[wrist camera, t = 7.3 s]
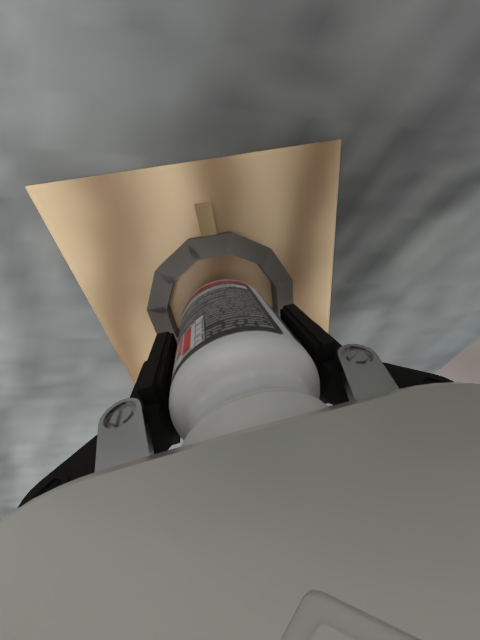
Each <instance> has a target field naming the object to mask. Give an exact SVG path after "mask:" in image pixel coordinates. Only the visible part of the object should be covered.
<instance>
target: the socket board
mask: <svg viewBox="0 0 480 640" xmlns="http://www.w3.org/2000/svg"><path fill="white" fill-rule="evenodd" d="M340 152H341V139H338V140H332V141H325V142H318V143H312V144H305V145H298V146H291V147H285V148H278V149H271V150H265V151H258V152H251V153H245V154H238V155H231V156H225V157H218V158H211V159H205V160H198V161H191V162H185V163H178V164H171V165H164V166H158V167H151V168H144V169H138V170H131V171H124V172H118V173H111V174H104V175H98V176H91V177H84V178H78V179H71V180H64V181H58V182H51V183H44V184H37V185H31V186H25V188H26V190H27V191H28V193H29V195H30V197H31V199H32V200H33V202H34V204H35V206H36V208H37V209H38V211H39V213H40V215H41V217H42V218H43V220H44V222H45V224H46V226H47V227H48V229H49V231H50V233H51V235H52V236H53V238H54V240H55V242H56V243H57V245H58V247H59V249H60V251H61V252H62V254H63V256H64V258H65V260H66V261H67V263H68V265H69V267H70V269H71V270H72V272H73V274H74V276H75V278H76V279H77V281H78V283H79V285H80V287H81V288H82V290H83V292H84V294H85V296H86V297H87V299H88V301H89V303H90V305H91V306H92V308H93V310H94V312H95V314H96V315H97V317H98V319H99V321H100V322H101V324H102V326H103V328H104V330H105V331H106V333H107V335H108V337H109V339H110V340H111V342H112V344H113V346H114V348H115V349H116V351H117V353H118V355H119V357H120V358H121V360H122V362H123V364H124V366H125V367H126V369H127V371H128V373H129V375H130V376H131V378H132V380H133V382H134V384H135V383H136V381H137V378H138V376H139V373H140V371H141V368H142V365H143V363H144V362H145V361H147V359H148V357H149V354H150V351H151V349H152V346H153V343H154V340H155V338H156V335H157V334H158V333H162V332H167V331H169V332H170V333H173V334H174V336H175V339H176V341H177V343H178V337H179V330H180V324H181V318H182V313H183V310H184V307H185V305H186V303H187V301H188V300H189V298H190V297H191V296H192V295H193V294H194V293H195V292H196V291H197V290H198V289H199V288H201V287H202V286H204V285H206V284H208V283H211V282H214V281H217V280H227V279H229V280H237V281H241V282H244V283H246V284H248V285H250V286H251V287H253V288H254V289H255V290H257V291H258V292H259V293H260V294H261V295H262V296H263V298H264V299H265V300H266V301H267V303H268V304H269V305H270V306H271V308H272V309H273V310H274V311H275V313H276V314H277V315H278V316H279V318H280V309H283V306H285V305H289V304H295V305H296V306H297V307H298V308H299V309H300V310H302V311H303V312H304V313H305V314H306V315H307V316H308V317H309V318H311V319H312V320H313V321H314V322H315V323H317V324H318V325H319V326H320V327H321V328H322V329H324V330H325V331H326V332H327V333H328V328H329V313H330V299H331V284H332V269H333V255H334V240H335V225H336V211H337V196H338V181H339V167H340ZM280 319H281V318H280Z"/></svg>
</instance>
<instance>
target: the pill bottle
mask: <svg viewBox="0 0 480 640" xmlns="http://www.w3.org/2000/svg"><path fill="white" fill-rule="evenodd" d="M319 397H320V379H319V374H318V371H317V368H316V366H315V364H314V362H313V360H312V358H311V357H310V355H309V354H308V352H307V351H306V349H305V348H304V347H303V346H302V344H301V343H300V342H299V341H298V340H297V338H296V337H295V336H294V335H293V334H292V332H291V331H290V330H289V329H288V327H287V326H286V325H285V324H284V322H283V321H282V320H281V319H280V318H279V316H278V315H277V314H276V313H275V311H274V310H273V309H272V308H271V306H270V305H269V304H268V303H267V301H266V300H265V299H264V298H263V296H262V295H261V294H260V293H259V292H258V291H257V290H255V289H254V288H253V287H251V286H250V285H248V284H246V283H244V282H241V281H237V280H229V279H227V280H217V281H214V282H211V283H208V284H206V285H204V286H202V287H201V288H199V289H198V290H197V291H196V292H195V293H194V294H193V295H192V296H191V297H190V298H189V300H188V301H187V303H186V305H185V307H184V310H183V313H182V318H181V324H180V330H179V337H178V343H177V349H176V355H175V362H174V368H173V373H172V380H171V385H170V394H169V412H170V417H171V420H172V423H173V425H174V427H175V429H176V431H177V433H178V434H179V435H180V437H181V438H182V439H183V440H184V441H183V444H182V446H186V445H190V444H193V443H197V442H200V441H204V440H208V439H211V438H215V437H218V436H222V435H226V434H229V433H233V432H237V431H240V430H244V429H248V428H251V427H255V426H259V425H262V424H266V423H270V422H273V421H277V420H281V419H284V418H288V417H292V416H296V415H299V414H303V413H307V412H311V411H314V410H318V409H322V408H326V407H328V406H327V405H326V404H325V403H323V402H322V401H321V400H319ZM182 446H181V447H182Z"/></svg>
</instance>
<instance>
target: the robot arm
mask: <svg viewBox="0 0 480 640" xmlns="http://www.w3.org/2000/svg"><path fill="white" fill-rule="evenodd" d="M280 318H281V320H282V321H283V322H284V324H285V325H286V326H287V327H288V329H289V330H290V331H291V332H292V334H293V335H294V336H295V337H296V338H297V340H298V341H299V342H300V343H301V344H302V346H303V347H304V348H305V349H306V351H307V352H308V354H309V355H310V357H311V358H312V360H313V362H314V364H315V366H316V368H317V371H318V374H319V379H320V397H319V400H321V401H322V402H323V403H325V404H326V403H330V404H333V406H329V407H326V408H322V409H318V410H314V411H311V412H307V413H303V414H299V415H296V416H292V417H288V418H284V419H281V420H277V421H273V422H270V423H266V424H262V425H259V426H255V427H251V428H248V429H244V430H240V431H237V432H233V433H229V434H226V435H222V436H218V437H215V438H211V439H208V440H204V441H200V442H197V443H193V444H190V445H186V446H182V447H179V448H175V449H172V450H168V449H169V448H170V447H171V446H172V445H174V444H178V443H180V435H179V434H178V433H177V431H176V429H175V427H174V425H173V423H172V420H171V417H170V412H169V394H170V385H171V380H172V373H173V368H174V362H175V355H176V349H177V341H176V339H175V336H174V334H173V333H170V332H169V331H167V332H162V333H158V334H157V335H156V338H155V340H154V343H153V346H152V349H151V351H150V354H149V357H148V359H147V361H145V362H144V363H143V365H142V368H141V371H140V373H139V376H138V378H137V381H136V383H135V386H134V388H133V391H132V394H131V396H130V398H127V399H124V400H121V401H119V402H117V403H115V404H114V405H112V406H111V407H110V408H109V409H107V411H106V412H105V413H104V414H103V415H102V417H101V418H100V421H99V424H98V434H97V435H96V436H95V437H94V438H93V439H91V440H90V441H89V442H88V443H86V444H85V445H84V446H83V447H82V448H80V449H79V450H78V451H77V452H75V453H74V454H73V455H72V456H71V457H69V458H68V459H67V460H66V461H64V462H63V463H62V464H61V465H60V466H58V467H57V468H56V469H55V470H53V471H52V472H51V473H50V474H49V475H47V476H46V477H45V478H44V479H42V480H41V481H40V482H39V483H38V484H37V485H36V486H35V487H33V488H32V489H31V490H30V492H29V493H28V494H27V495H26V496H25V498H24V499H23V500H22V502H21V503H20V505H19V507H18V508H17V509H16V510H14V511H12V512H11V513H9V514H8V515H6V516H5V517H3V518H2V519H0V640H480V384H475V383H458V382H457V383H456V382H453V381H451V380H449V379H447V378H445V377H442V376H439V375H435V374H431V373H427V372H422V371H418V370H414V369H409V368H405V367H401V366H396V365H392V364H388V363H383V362H382V361H381V360H380V358H379V357H378V355H377V354H376V353H375V352H374V351H373V350H372V349H370V348H368V347H366V346H363V345H358V344H347V345H344V346H342V345H340V344H339V343H338V342H337V341H336V340H335V339H334V338H333V337H331V336H330V335H329V334H328V333H327V332H326V331H325V330H324V329H322V328H321V327H320V326H319V325H318V324H317V323H315V322H314V321H313V320H312V319H311V318H309V317H308V316H307V315H306V314H305V313H304V312H303V311H302V310H300V309H299V308H298V307H297V306H296V305H295V304H289V305H285V306H283V309H280Z"/></svg>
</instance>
